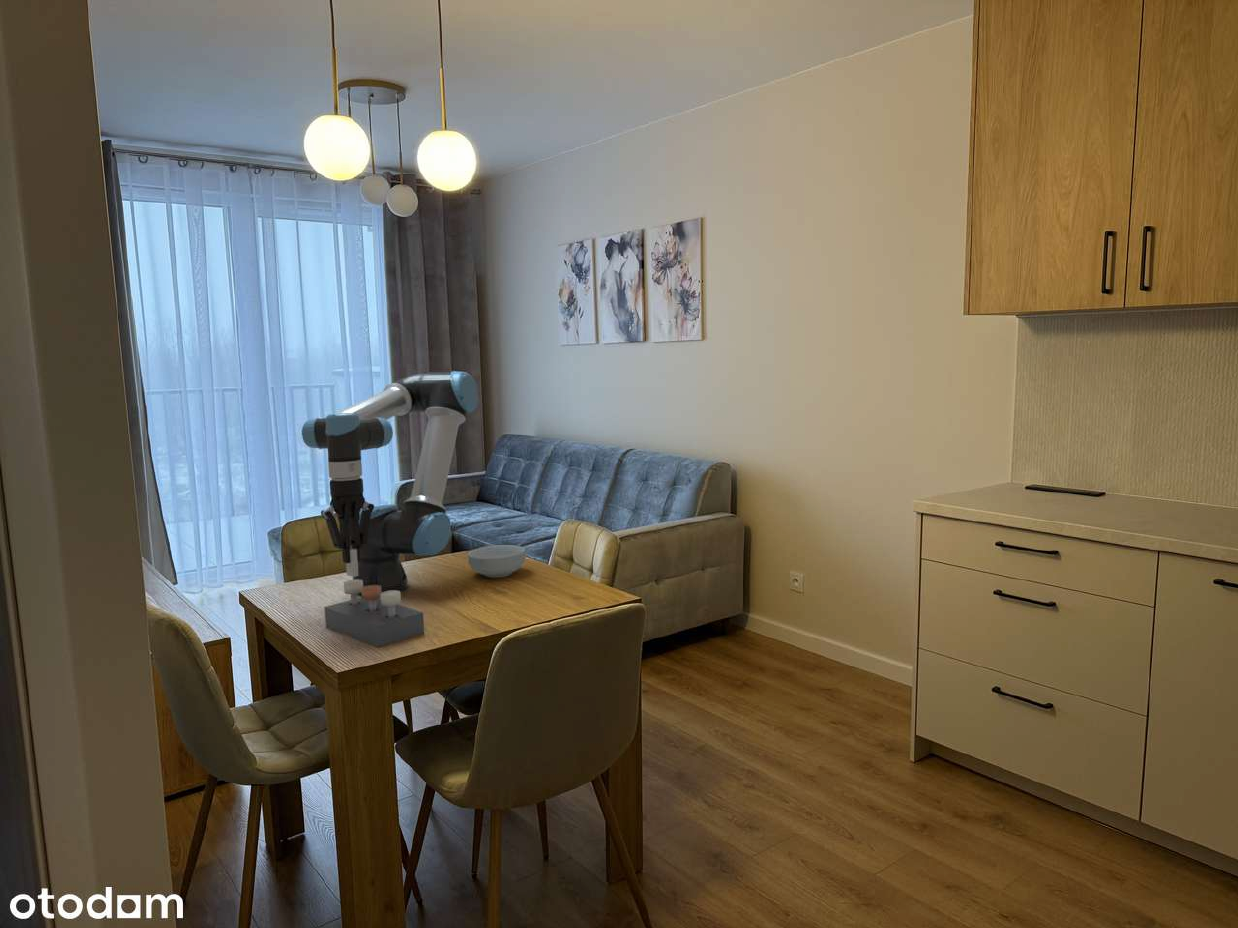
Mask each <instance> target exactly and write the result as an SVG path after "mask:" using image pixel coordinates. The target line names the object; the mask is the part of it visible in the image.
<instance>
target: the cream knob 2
mask: <svg viewBox="0 0 1238 928" xmlns="http://www.w3.org/2000/svg"><path fill="white" fill-rule="evenodd" d="M380 595H381V598H380V599H381V605H383V606H388V618H393V617H396V615H395V605H401V603H402V595H401V591H397V590H391V591H385V592H382V593H381V594H380Z"/></svg>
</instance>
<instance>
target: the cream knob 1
mask: <svg viewBox="0 0 1238 928" xmlns="http://www.w3.org/2000/svg"><path fill="white" fill-rule="evenodd" d="M362 587H363V580H359V579H355V580H353V579H349V580H345V581H344V582H343V592H344V594H345V595H350V600H351V605H352V606H354V605H357V604H358V598H359V597H358V596H359V595H358V593H361V592H362Z"/></svg>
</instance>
